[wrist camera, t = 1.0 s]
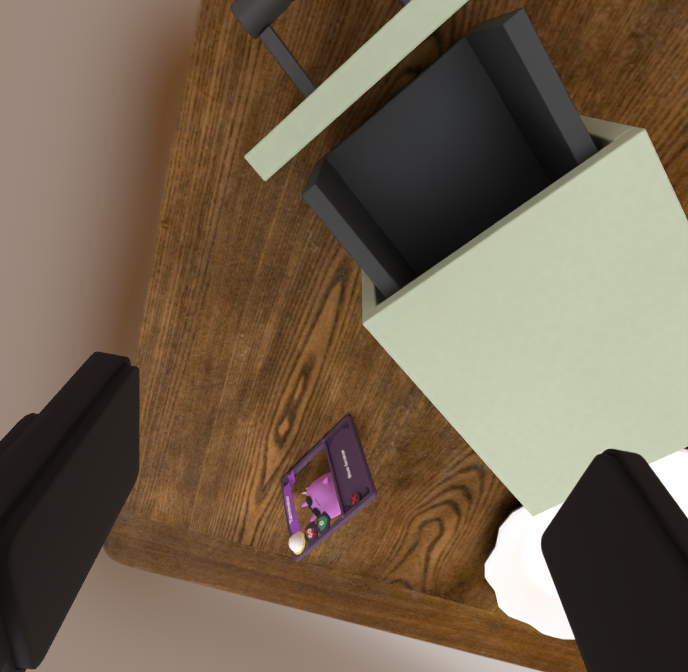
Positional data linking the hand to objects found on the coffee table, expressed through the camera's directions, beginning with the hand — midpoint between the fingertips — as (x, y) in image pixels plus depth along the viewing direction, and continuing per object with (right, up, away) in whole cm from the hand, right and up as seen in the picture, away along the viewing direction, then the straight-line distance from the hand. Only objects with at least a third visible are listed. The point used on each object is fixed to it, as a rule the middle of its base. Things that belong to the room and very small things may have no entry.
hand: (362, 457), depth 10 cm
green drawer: (+4, +13, +15) cm, 20 cm away
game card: (-1, -7, +28) cm, 29 cm away
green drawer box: (+10, +6, +20) cm, 23 cm away
